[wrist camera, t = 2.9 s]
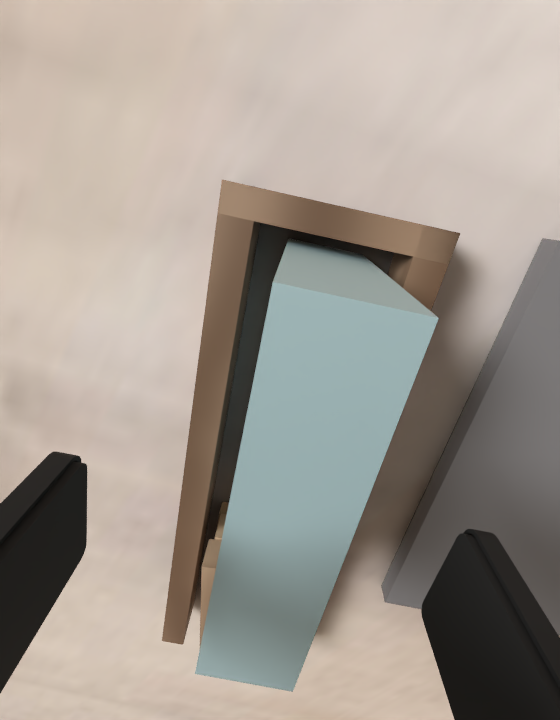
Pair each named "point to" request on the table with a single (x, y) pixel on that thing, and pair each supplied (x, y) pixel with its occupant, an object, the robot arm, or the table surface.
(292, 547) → the teal rectangular block
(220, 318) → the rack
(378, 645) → the table surface
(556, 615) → the mat
